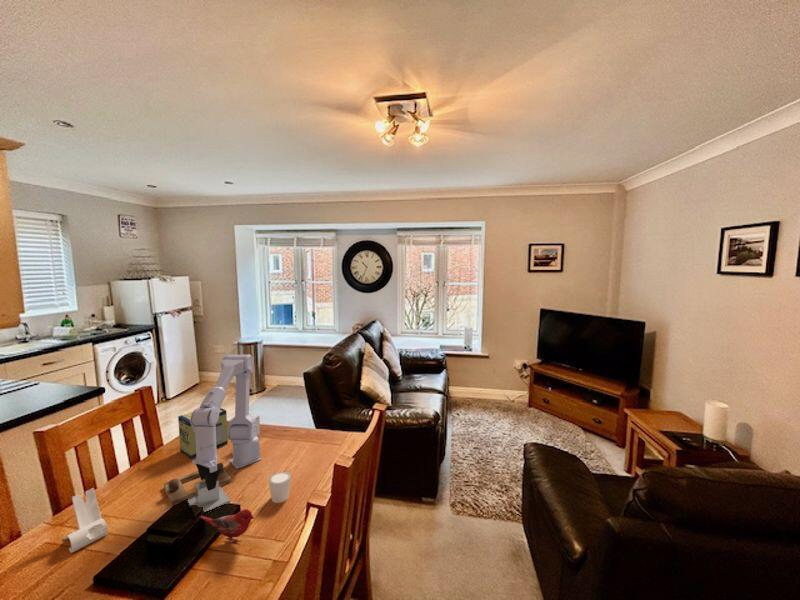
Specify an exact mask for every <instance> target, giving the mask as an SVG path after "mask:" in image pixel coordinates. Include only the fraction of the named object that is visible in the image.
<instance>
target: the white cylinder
mask: <svg viewBox="0 0 800 600" xmlns="http://www.w3.org/2000/svg"><path fill="white" fill-rule="evenodd" d="M268 483H269V484H268V485H269V490H270V491H269V492H270V498H271V499H270V500H271V501H272V503H274V504H280V503H283V502H286V501H287V500H288V499H289V497H290V488H291V487H290V486H291V474H290V472H287V471H280V472H276V473H273V474H272V475H271V476H270V477H269V479H268Z"/></svg>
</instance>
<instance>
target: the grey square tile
mask: <svg viewBox="0 0 800 600" xmlns="http://www.w3.org/2000/svg"><path fill="white" fill-rule="evenodd" d="M186 501H188V502H187V504H188V503H189V504H188V506H189V505H190V506H191V505H197V504H196V502H195V497H193V498H190V499H188V500H186ZM230 503H231V500H230V498H229V496H228V495H227V493H226V492H225V491H224V490H223V488H222V486H220V487H219V500H217V501H214V502H212V503H210V504H207V505H205V506H203V511H204V512H206V511H209V510H212V509H214V508H216V507H219V506H221V505H224V504H226V505H229V504H230ZM190 506H189V507H190ZM224 506H225V505H224ZM219 508H220V507H219Z"/></svg>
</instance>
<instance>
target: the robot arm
mask: <svg viewBox="0 0 800 600" xmlns="http://www.w3.org/2000/svg"><path fill="white" fill-rule="evenodd" d="M220 367H221V371H220V374H219V376H218V377H217V378H218V379H217V381H216V382H215V385H214V387H211V388H209V389H208V391H207V393H206V394H205V397H204V398H203V400H202V402H201V404H200V405H199V407H197V408H195V409H194V410H193V411H192V412H193V413H192V415H191V420H190V424H191V425H192V427H193V431H194V432H195V437H196V457H195V458H193V459H192V461H191V463H192V464H193V465H195V466H196V469H197V471H198V472H199V475H200V477H199V478H200V480H201V481H205V482H206V487H207V489H208V491H210V490H212V489H214V488H215V487H216V483H217V479H218V475H219V473H220V471H221V470H222V467H221V466H217V464H218V463H217V462H218V452H217V451H218V450H217V449H218V448H216V426H215V424H216V423H217V421H218V419H219V413H220V408H221V406H222V404H223V402H224V400H225V398H226V397H227V393H226V389H227V387H228V386H229V385H230V383H231V381H232V380H233V378H234V377H235V398H234V400H235V406H234V408H235V409H234V410H235V412H234V417H232V419H230V420H229V422H228V424H227V437H228V441H230V443H231V444H232V457H233V458H232V459H229V462H230V463H231V465H232V466H233V467H234V468H235V469H236V470H237V469H240V468H243V467H245V466H248V465H251V464H253V463H256V462H258V461H261V459H262V458H261V450H260V449H261V448H260V447H261V445H260V441H259V439H258V437H257V436H256V434H257V425H256V419H255V418H254V417H252V416H251V415H252V414H250V387H251V386H250V384H251V383H250V382H251V381H250V377H251V375H252V374H254V357H253V356H252V355H251V354H250V353H247V354H229V353H226V354H224V356H223V357H222V359H221V362H220Z"/></svg>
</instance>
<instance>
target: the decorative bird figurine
mask: <svg viewBox="0 0 800 600" xmlns="http://www.w3.org/2000/svg"><path fill="white" fill-rule="evenodd" d="M198 518H200V519H201V520H204V521H206V522H207V523H208V524H210V525H211V526H212V527H213V528H214V530H215V531H217V532H218V533H220V534H221V535H223V536H225V537H227V538H225V540H228V542H232V543H237V542H243V541H242V540H239V539H237V538H238V537H240V536H241V535H243V534H244V533H245V532H246V531H247V530H248V529H249V526H250V524H251V522H252V520H253V519H255V517H254V515H252V512H251V510H249V509H247V508H245V509H242V510H240V511H238V512H237V513H236V514H231V515H225V516H221V517H217V518H215V519H214V518H211V517H207V516H204V515H201V516H199V517H198Z"/></svg>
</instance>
